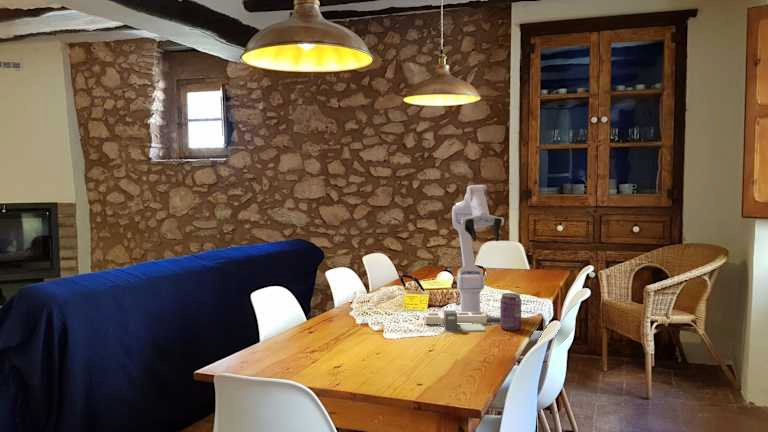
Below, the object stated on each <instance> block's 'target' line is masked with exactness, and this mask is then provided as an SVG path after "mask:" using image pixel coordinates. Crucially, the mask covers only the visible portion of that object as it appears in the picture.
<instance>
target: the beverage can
mask: <svg viewBox="0 0 768 432" xmlns="http://www.w3.org/2000/svg"><path fill="white" fill-rule="evenodd" d="M499 306H500V313H499V314H500V317H499V318H500V321H499V322H500V325H499V326H500V328H502V329H503V330H506V331H517V330H519V329H521V328H522V299H521V294H519V293H513V292H506V293H502V294H501V298H500V305H499Z"/></svg>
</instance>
